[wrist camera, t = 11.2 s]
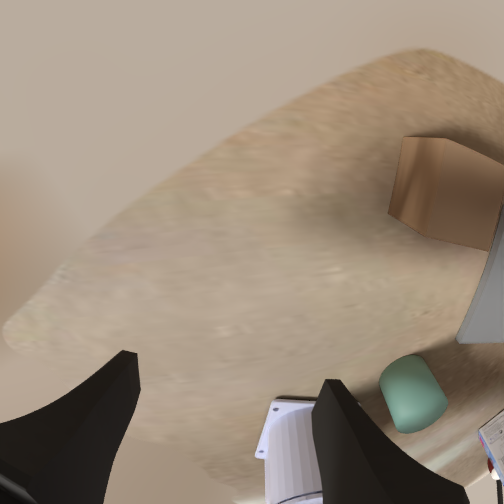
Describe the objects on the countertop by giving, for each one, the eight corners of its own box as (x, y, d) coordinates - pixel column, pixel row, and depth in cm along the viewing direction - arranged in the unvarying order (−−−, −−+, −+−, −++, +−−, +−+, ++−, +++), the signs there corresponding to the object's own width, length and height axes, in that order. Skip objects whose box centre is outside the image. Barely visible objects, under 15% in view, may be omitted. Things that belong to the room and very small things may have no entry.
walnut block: (445, 227, 18) (488, 251, 14) (387, 213, 18) (425, 236, 13) (461, 158, 17) (508, 167, 12) (402, 136, 16) (446, 138, 12)
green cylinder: (412, 391, 23) (431, 429, 19) (371, 393, 23) (386, 436, 19) (432, 354, 22) (457, 392, 17) (390, 354, 22) (412, 397, 17)
